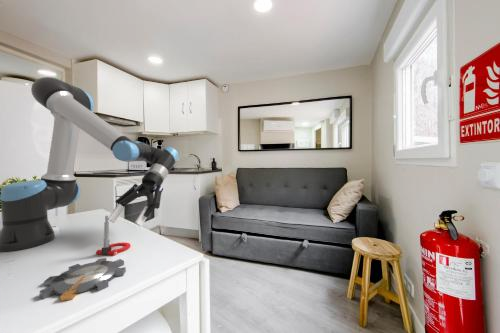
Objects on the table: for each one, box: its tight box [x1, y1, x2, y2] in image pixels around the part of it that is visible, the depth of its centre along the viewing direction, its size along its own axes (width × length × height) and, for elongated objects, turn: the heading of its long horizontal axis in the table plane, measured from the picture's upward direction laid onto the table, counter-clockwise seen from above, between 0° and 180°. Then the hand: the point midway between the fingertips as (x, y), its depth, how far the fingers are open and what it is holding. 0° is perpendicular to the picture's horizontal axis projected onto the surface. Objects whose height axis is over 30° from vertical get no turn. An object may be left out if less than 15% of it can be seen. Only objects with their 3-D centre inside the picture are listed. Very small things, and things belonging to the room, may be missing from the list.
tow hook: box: [95, 215, 131, 256], centre depth 72 cm, size 8×13×9 cm
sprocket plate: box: [39, 257, 127, 302], centre depth 55 cm, size 18×18×1 cm
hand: (123, 222), depth 74 cm, fingers open, 13 cm apart
